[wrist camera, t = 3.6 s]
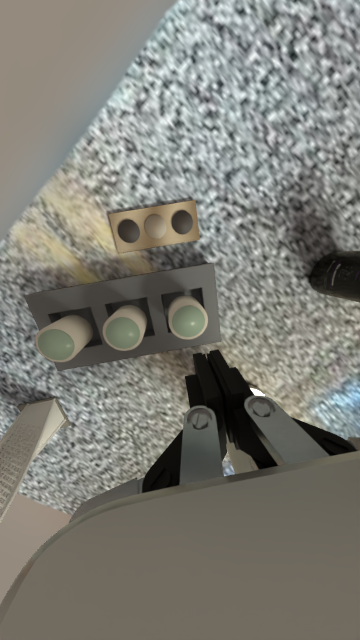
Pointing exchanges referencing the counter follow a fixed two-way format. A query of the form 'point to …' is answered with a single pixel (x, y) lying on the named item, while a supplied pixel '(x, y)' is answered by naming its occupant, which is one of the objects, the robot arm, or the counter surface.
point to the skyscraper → (26, 444)
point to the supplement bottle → (338, 275)
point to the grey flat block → (139, 291)
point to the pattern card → (155, 226)
